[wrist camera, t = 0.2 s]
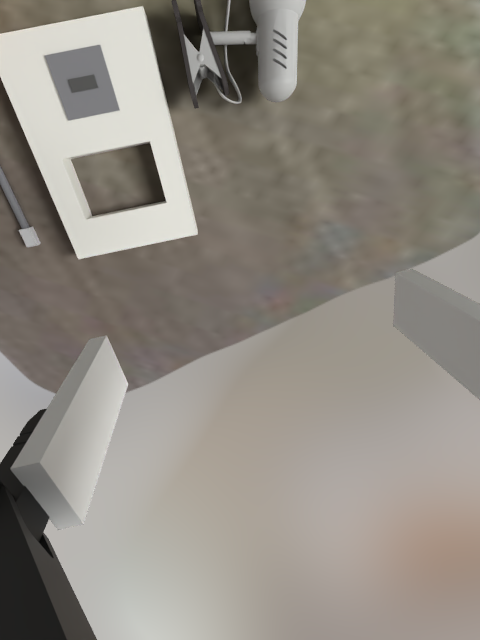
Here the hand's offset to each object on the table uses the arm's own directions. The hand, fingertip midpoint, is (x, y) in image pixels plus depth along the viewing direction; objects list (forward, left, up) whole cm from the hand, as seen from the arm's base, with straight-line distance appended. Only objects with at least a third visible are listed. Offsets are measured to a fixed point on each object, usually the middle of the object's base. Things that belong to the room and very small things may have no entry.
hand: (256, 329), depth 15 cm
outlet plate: (-10, -10, -28) cm, 31 cm away
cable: (-11, -22, -28) cm, 37 cm away
